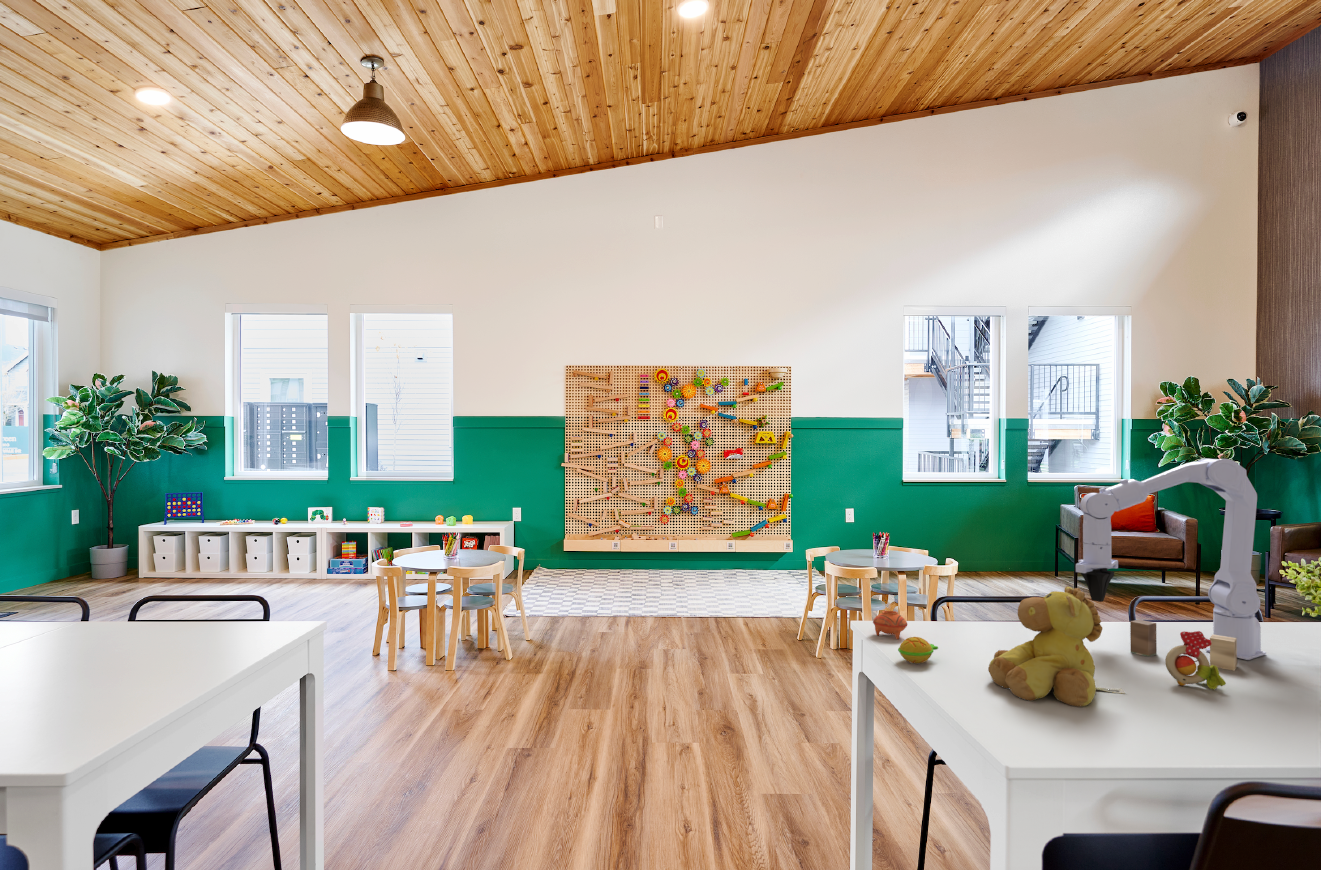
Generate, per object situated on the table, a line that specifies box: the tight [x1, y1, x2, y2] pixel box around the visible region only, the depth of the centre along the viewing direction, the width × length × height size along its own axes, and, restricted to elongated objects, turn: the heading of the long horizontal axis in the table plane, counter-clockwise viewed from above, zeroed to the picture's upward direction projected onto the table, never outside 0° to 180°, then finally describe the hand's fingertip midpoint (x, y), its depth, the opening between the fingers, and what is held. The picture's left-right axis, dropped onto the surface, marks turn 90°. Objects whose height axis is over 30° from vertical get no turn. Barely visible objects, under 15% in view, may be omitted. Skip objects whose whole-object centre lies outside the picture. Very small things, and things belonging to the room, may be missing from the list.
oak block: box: [1209, 634, 1238, 671], centre depth 146 cm, size 4×4×6 cm
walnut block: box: [1129, 619, 1158, 657], centre depth 154 cm, size 4×4×7 cm
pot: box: [872, 610, 908, 640], centre depth 167 cm, size 8×8×7 cm
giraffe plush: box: [987, 586, 1126, 708], centre depth 131 cm, size 20×24×19 cm
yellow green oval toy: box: [897, 636, 939, 665], centre depth 148 cm, size 7×10×5 cm
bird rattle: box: [1164, 630, 1227, 691], centre depth 133 cm, size 6×11×9 cm
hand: (1097, 600), depth 163 cm, fingers closed
